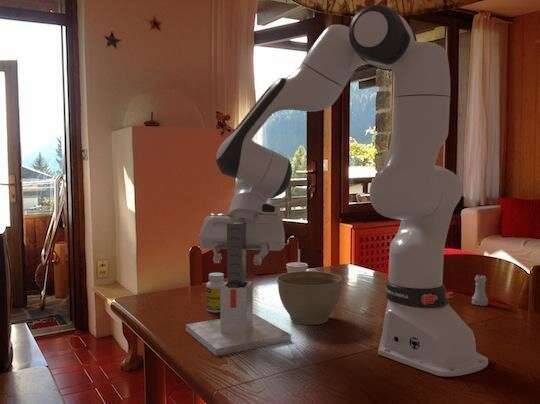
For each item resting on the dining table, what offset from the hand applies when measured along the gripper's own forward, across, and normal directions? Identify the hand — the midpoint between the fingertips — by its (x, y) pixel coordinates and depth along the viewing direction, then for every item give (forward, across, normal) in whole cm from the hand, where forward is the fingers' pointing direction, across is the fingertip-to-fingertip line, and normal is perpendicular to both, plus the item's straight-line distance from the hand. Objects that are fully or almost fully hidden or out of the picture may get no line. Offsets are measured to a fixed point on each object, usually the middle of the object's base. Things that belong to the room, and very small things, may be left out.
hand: (236, 262), depth 117 cm
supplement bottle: (-1, -10, +25) cm, 27 cm away
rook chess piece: (-15, +60, +40) cm, 74 cm away
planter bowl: (+2, +15, +23) cm, 27 cm away
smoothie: (-13, +9, +38) cm, 41 cm away
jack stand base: (+12, 0, +12) cm, 17 cm away
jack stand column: (+11, 0, +10) cm, 15 cm away
